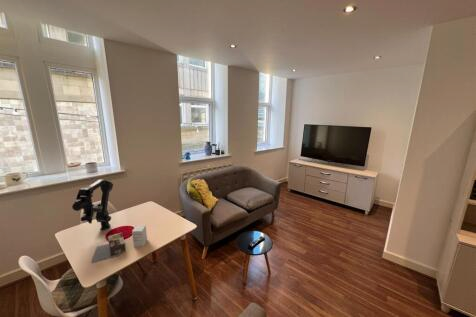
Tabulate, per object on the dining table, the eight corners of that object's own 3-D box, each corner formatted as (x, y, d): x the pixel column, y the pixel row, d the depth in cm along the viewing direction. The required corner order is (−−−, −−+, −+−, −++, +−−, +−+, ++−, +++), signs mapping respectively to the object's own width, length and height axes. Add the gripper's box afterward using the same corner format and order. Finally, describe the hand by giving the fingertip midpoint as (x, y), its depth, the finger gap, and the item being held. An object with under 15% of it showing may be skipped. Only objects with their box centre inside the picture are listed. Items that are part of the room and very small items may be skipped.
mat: (96, 247, 140) (96, 246, 140) (120, 241, 147) (120, 240, 147) (91, 262, 125) (91, 262, 125) (118, 255, 132) (118, 255, 132)
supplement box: (137, 240, 148) (135, 225, 146) (147, 240, 149) (146, 225, 146) (133, 246, 141) (131, 231, 139) (143, 246, 142) (142, 230, 139)
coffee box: (108, 243, 143) (110, 256, 130) (107, 236, 142) (109, 248, 129) (123, 239, 148) (125, 251, 136) (122, 232, 147) (124, 243, 134)
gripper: (98, 207, 139) (101, 227, 143) (102, 197, 156) (105, 215, 159) (78, 210, 134) (82, 230, 138) (85, 200, 151) (88, 218, 154)
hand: (90, 223), depth 147 cm, fingers closed
